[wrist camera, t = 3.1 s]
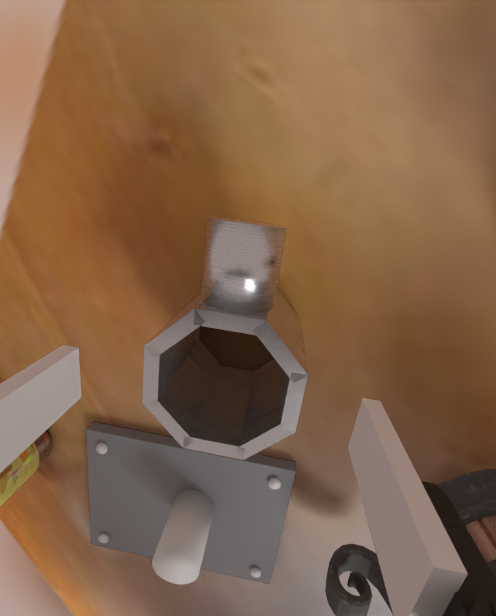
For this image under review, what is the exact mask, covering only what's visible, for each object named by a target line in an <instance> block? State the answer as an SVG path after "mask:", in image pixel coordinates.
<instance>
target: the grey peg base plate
mask: <svg viewBox="0 0 496 616" xmlns="http://www.w3.org/2000/svg"><path fill="white" fill-rule="evenodd" d="M86 436H87V461H88V486H89V510H90V535H91V544H94V545H98V546H103V547H107V548H112V549H116V550H120V551H125V552H129V553H134V554H138V555H143V556H147V557H151V558H153V559H152V567H153V569H154V571H155V572H156V574H157V575H158V576H160V577H161V578H162V579H164V580H166V581H168V582H170V583H174V584H189V583H191V582H193V581H195V580H196V579H197V578H198V576H199V572H200V569H204V570H209V571H213V572H218V573H222V574H226V575H231V576H235V577H240V578H244V579H248V580H253V581H257V582H262V583H266V584H269V583H270V579H271V574H272V570H273V566H274V562H275V557H276V553H277V549H278V545H279V541H280V536H281V532H282V528H283V524H284V519H285V515H286V511H287V507H288V503H289V498H290V494H291V490H292V486H293V481H294V477H295V473H296V463H295V462H294V461H289V460H284V459H279V458H274V457H269V456H264V455H259V454H254V455H252V456H250V457H248V458H246V459H244V460H241V459H236V458H231V457H226V456H221V455H216V454H211V453H206V452H201V451H196V450H191V449H186V448H183V447H182V446H181V445H180V444H179V443H178V442H177V441H176V440H175V439H174V438H173V437H168V436H163V435H158V434H153V433H147V432H142V431H137V430H132V429H127V428H122V427H117V426H112V425H107V424H102V423H97V422H93V423H92V424H91V425H90V426H89V427H88V428H87V429H86Z"/></svg>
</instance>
